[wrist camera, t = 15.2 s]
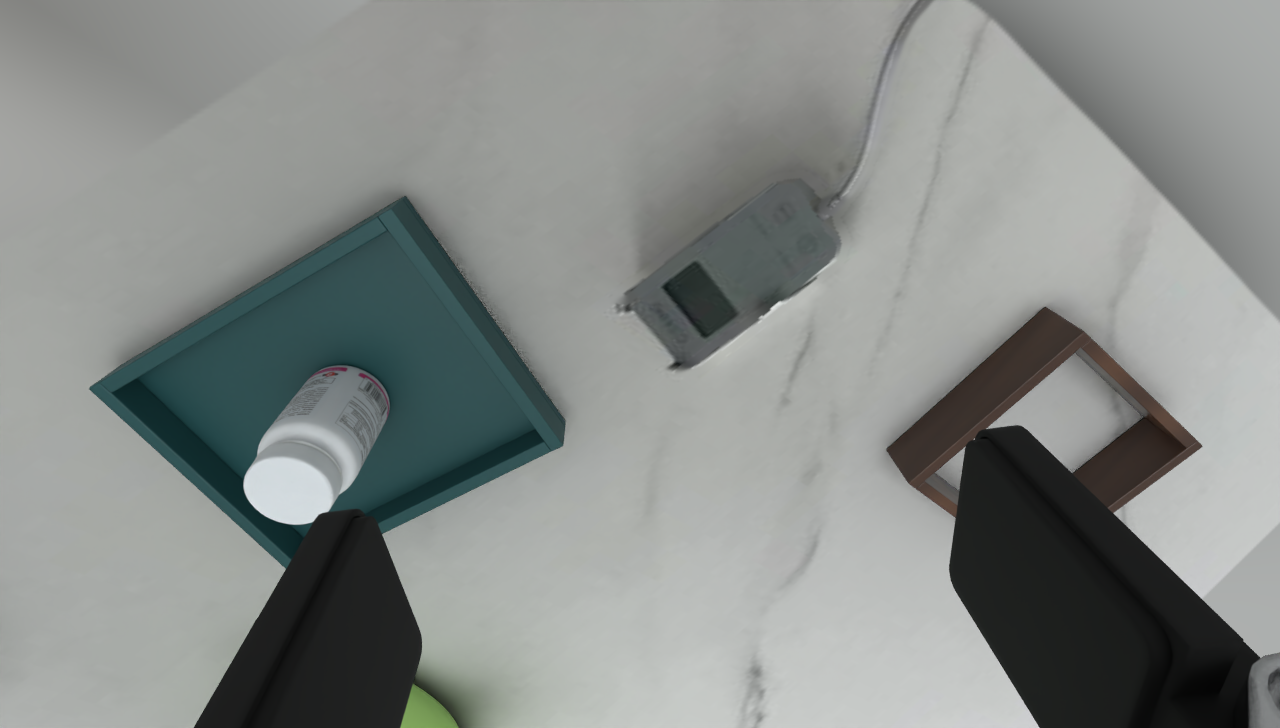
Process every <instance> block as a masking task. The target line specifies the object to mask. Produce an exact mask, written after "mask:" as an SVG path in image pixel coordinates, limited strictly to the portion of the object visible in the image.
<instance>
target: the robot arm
mask: <svg viewBox="0 0 1280 728" xmlns="http://www.w3.org/2000/svg"><path fill="white" fill-rule="evenodd" d="M949 572H950V578H951V582H952V584H953V587H954V589H955V591H956V593H957V594H958V596H959V598H960V599H961V601H962V602H963V604H964V606H965V607H966V609H967V610H968V612H969V614H970V615H971V617H972V619H973V620H974V622H975V623H976V625H977V627H978V628H979V630H980V632H981V633H982V635H983V636H984V638H985V640H986V641H987V643H988V645H989V646H990V648H991V649H992V651H993V653H994V654H995V656H996V658H997V659H998V661H999V662H1000V664H1001V666H1002V667H1003V669H1004V671H1005V672H1006V674H1007V675H1008V677H1009V679H1010V680H1011V682H1012V683H1013V685H1014V687H1015V688H1016V690H1017V692H1018V693H1019V695H1020V696H1021V698H1022V700H1023V701H1024V703H1025V705H1026V706H1027V708H1028V709H1029V711H1030V713H1031V714H1032V716H1033V718H1034V719H1035V721H1036V722H1037V724H1038V726H1039V727H1040V728H1280V653H1276V654H1271V655H1266V656H1263V657H1262V658H1260V657H1259V656H1258V655H1257V654H1256V653H1255V652H1254V651H1253V650H1252V649H1250V647H1249V646H1248V645H1246V643H1244V642H1243V639H1242V638H1241V637H1240V636H1239V635H1238V634H1237V633H1236V632H1235V631H1234V630H1233V629H1232V628H1231V627H1230V626H1229V625H1228V624H1227V623H1226V622H1225V621H1223V619H1222V618H1221V617H1220V616H1218V614H1217V613H1215V612H1214V611H1213V610H1212V609H1211V608H1210V607H1209V606H1208V605H1207V604H1206V603H1205V602H1204V601H1203V600H1202V599H1201V598H1200V597H1199V596H1198V595H1197V594H1196V593H1195V592H1194V591H1193V590H1192V589H1191V588H1190V587H1189V586H1188V585H1187V584H1186V583H1184V582H1183V581H1182V580H1181V579H1180V578H1179V577H1178V576H1177V575H1176V574H1175V573H1174V572H1173V571H1172V570H1171V569H1170V568H1169V567H1168V566H1167V565H1166V564H1165V563H1164V562H1163V561H1162V560H1161V559H1160V558H1159V557H1158V556H1157V555H1156V554H1155V553H1154V552H1152V551H1151V550H1150V549H1149V548H1148V547H1147V546H1146V545H1145V544H1144V543H1143V542H1142V541H1141V540H1140V539H1139V538H1138V537H1137V536H1136V535H1135V534H1134V533H1133V532H1132V531H1131V530H1130V529H1129V528H1128V527H1127V526H1126V525H1125V524H1124V523H1123V522H1121V521H1120V520H1119V519H1118V518H1117V517H1116V516H1115V515H1114V514H1113V513H1112V512H1111V511H1110V510H1109V509H1108V508H1107V507H1106V506H1105V505H1104V504H1103V503H1102V502H1101V501H1100V500H1099V499H1098V498H1097V497H1096V496H1095V495H1094V494H1093V493H1092V492H1091V491H1089V490H1088V489H1087V488H1086V487H1085V486H1084V485H1083V484H1082V483H1081V482H1080V481H1079V480H1078V479H1077V478H1076V477H1075V476H1074V475H1073V474H1072V473H1071V472H1070V471H1069V470H1068V469H1067V468H1066V467H1065V466H1064V465H1063V464H1062V463H1061V462H1060V461H1058V460H1057V459H1056V458H1055V457H1054V456H1053V455H1052V454H1051V453H1050V452H1049V451H1048V450H1047V449H1046V448H1045V447H1044V446H1043V445H1042V444H1041V443H1040V442H1039V441H1038V440H1037V439H1036V438H1035V437H1034V436H1033V435H1032V434H1031V433H1030V432H1029V431H1028V430H1026V429H1025V428H1024V427H1022V426H1018V425H1015V426H1007V427H999V428H992V429H984V430H981V431H979V432H978V433H977V435H976V438H975V440H971V441H969V442H968V443H967V444H966V448H965V454H964V461H963V469H962V476H961V483H960V491H959V498H958V506H957V513H956V520H955V528H954V535H953V542H952V550H951V557H950V564H949ZM421 652H422V638H421V633H420V630H419V627H418V625H417V622H416V620H415V617H414V615H413V612H412V609H411V607H410V604H409V602H408V599H407V597H406V594H405V592H404V589H403V587H402V584H401V582H400V579H399V576H398V574H397V571H396V569H395V566H394V564H393V561H392V559H391V556H390V554H389V551H388V549H387V546H386V543H385V541H384V538H383V536H382V533H381V531H380V528H379V526H378V523H377V521H376V519H375V518H374V517H372V516H367V517H366V516H365V514H364V512H362V511H361V510H360V509H348V510H340V511H332V512H325V513H321V514H319V515H318V516H317V517H316V519H315V520H314V522H313V524H312V525H311V527H310V529H309V530H308V532H307V534H306V536H305V537H304V539H303V541H302V543H301V544H300V546H299V548H298V549H297V551H296V553H295V555H294V556H293V558H292V560H291V562H290V563H289V565H288V567H287V569H286V570H285V572H284V574H283V575H282V577H281V579H280V581H279V582H278V584H277V586H276V588H275V589H274V591H273V593H272V594H271V596H270V598H269V600H268V601H267V603H266V605H265V607H264V608H263V610H262V612H261V614H260V615H259V617H258V618H257V619H256V621H255V623H254V625H253V626H252V628H251V630H250V632H249V633H248V635H247V637H246V638H245V640H244V642H243V644H242V645H241V647H240V649H239V651H238V652H237V654H236V656H235V657H234V659H233V661H232V663H231V664H230V666H229V668H228V670H227V671H226V673H225V675H224V676H223V678H222V680H221V682H220V683H219V685H218V687H217V689H216V690H215V692H214V694H213V695H212V697H211V699H210V701H209V702H208V704H207V706H206V708H205V709H204V711H203V713H202V714H201V716H200V718H199V720H198V721H197V723H196V725H195V727H194V728H400V727H401V723H402V720H403V716H404V713H405V710H406V706H407V703H408V699H409V696H410V692H411V689H412V685H413V682H414V678H415V675H416V671H417V668H418V664H419V661H420V657H421Z"/></svg>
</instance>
